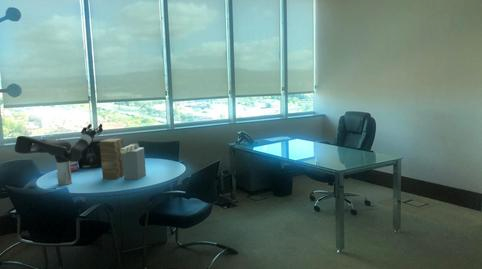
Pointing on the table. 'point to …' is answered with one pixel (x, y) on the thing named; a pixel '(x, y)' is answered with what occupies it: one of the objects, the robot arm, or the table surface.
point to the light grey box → (134, 164)
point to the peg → (129, 148)
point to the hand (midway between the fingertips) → (96, 124)
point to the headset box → (91, 156)
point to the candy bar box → (73, 166)
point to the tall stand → (111, 158)
